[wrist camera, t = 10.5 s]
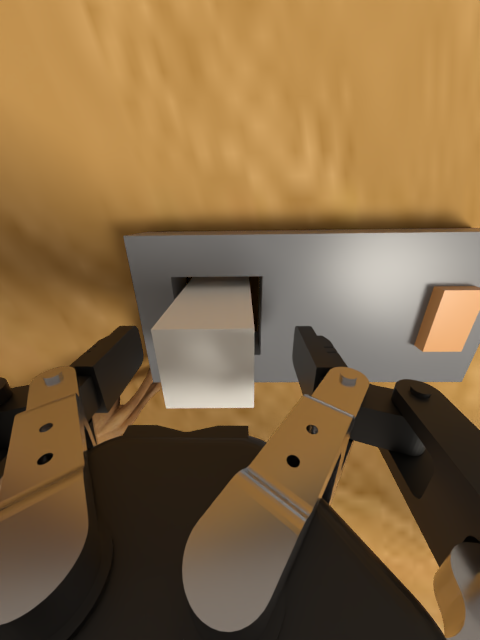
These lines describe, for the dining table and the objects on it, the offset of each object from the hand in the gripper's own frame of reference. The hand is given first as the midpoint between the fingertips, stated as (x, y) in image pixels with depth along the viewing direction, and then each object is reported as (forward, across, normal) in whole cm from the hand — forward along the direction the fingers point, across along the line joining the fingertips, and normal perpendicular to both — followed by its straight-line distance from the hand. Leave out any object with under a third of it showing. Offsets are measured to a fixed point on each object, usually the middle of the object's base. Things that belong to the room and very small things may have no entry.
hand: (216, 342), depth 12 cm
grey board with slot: (+7, -6, 0) cm, 9 cm away
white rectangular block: (+7, 0, 0) cm, 7 cm away
